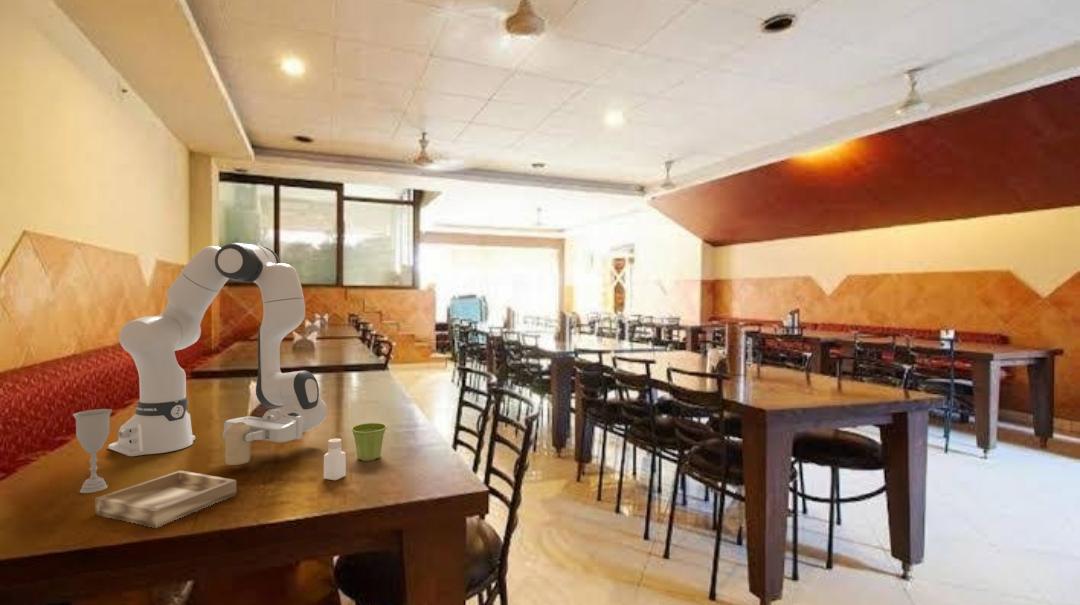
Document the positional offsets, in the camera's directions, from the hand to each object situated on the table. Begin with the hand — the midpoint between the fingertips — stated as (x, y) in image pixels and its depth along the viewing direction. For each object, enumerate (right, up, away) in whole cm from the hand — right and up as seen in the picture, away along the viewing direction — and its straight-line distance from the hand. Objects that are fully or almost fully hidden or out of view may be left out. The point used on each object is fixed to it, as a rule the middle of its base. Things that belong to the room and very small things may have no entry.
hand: (234, 436), depth 135 cm
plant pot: (+30, -9, +13) cm, 34 cm away
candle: (0, -7, +1) cm, 7 cm away
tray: (-3, -10, -20) cm, 22 cm away
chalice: (-26, -9, -12) cm, 30 cm away
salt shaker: (+27, -10, -3) cm, 29 cm away
